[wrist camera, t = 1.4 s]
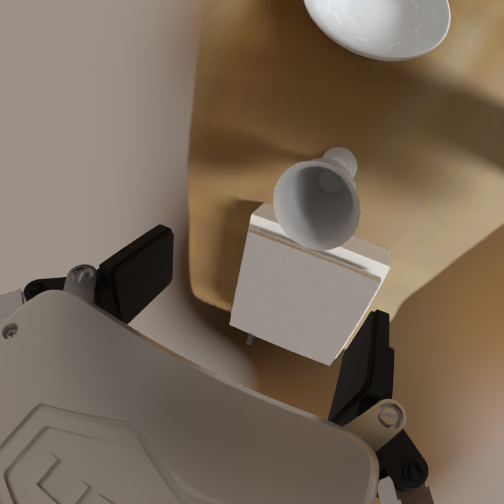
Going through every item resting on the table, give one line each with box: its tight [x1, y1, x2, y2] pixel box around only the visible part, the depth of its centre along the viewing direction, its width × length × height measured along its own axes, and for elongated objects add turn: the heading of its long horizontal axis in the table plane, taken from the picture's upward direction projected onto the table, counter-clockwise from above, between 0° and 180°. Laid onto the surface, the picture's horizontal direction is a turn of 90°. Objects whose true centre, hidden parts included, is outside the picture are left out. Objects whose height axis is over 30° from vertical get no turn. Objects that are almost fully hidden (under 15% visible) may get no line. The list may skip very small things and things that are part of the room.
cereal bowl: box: [304, 0, 450, 61], centre depth 20 cm, size 17×17×7 cm
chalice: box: [273, 147, 360, 250], centre depth 28 cm, size 7×7×18 cm
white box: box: [230, 228, 381, 366], centre depth 42 cm, size 18×21×6 cm
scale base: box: [231, 203, 391, 358], centre depth 44 cm, size 20×21×6 cm
